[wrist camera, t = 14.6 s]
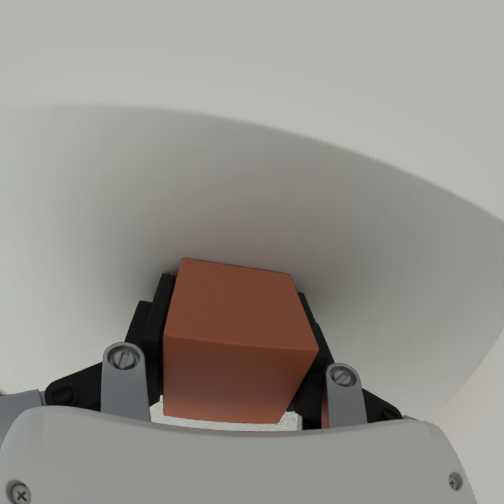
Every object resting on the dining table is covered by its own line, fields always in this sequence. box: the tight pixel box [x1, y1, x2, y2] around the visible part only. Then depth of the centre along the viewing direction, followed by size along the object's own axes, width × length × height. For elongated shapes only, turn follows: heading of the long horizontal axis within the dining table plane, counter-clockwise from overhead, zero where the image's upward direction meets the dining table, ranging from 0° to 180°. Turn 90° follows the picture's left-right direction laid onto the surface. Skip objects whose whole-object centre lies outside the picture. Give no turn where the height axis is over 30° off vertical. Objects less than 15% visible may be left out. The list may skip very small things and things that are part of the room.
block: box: [163, 258, 319, 424], centre depth 10 cm, size 4×4×4 cm
